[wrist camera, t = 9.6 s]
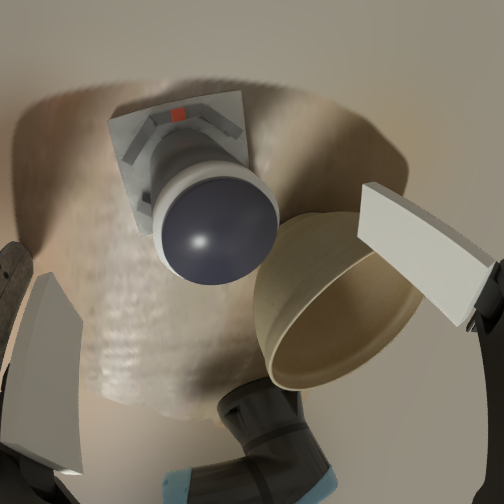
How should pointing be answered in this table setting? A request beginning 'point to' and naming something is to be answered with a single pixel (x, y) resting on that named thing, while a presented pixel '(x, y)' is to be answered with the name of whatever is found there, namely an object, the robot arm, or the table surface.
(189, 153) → the lens
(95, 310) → the table surface
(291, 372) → the planter bowl
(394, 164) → the table surface
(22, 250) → the vintage camera
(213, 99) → the mount
